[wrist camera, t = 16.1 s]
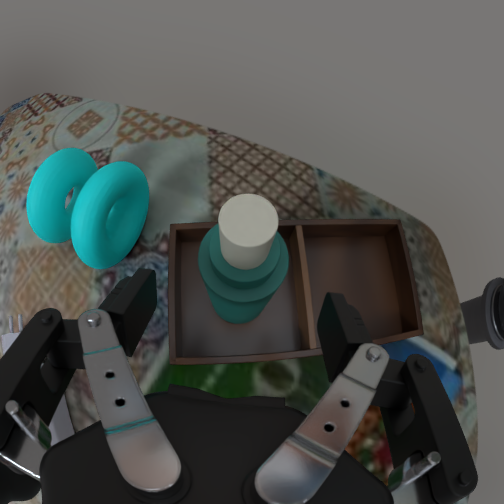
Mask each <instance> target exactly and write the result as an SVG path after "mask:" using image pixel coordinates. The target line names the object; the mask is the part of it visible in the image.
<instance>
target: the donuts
mask: <svg viewBox="0 0 504 504" xmlns="http://www.w3.org/2000/svg"><path fill="white" fill-rule="evenodd" d="M73 187H74V192H73V196H72V199H71V201H70V203H69V205H68V206H67V208H66V209H65V200H66V197H67V195H68V193H69V191H70V190H71V189H72V188H73ZM148 206H149V187H148V183H147V180H146V177H145V175H144V173H143V172H142V171H141V169H140V168H139V167H137V166H136V165H134V164H132V163H129V162H125V161H118V162H114V163H110V164H108V165H106V166H104V167H102V168H101V169H99V170H98V169H97V166H96V164H95V162H94V160H93V159H92V157H91V156H90V155H89V154H88V153H86V152H85V151H83V150H81V149H77V148H66V149H62V150H59V151H57V152H55V153H54V154H52V155H51V156H49V157H48V158H47V159H46V160H45V161H44V162H43V163H42V164H41V165H40V167H39V168H38V170H37V171H36V173H35V175H34V177H33V179H32V181H31V184H30V187H29V190H28V195H27V215H28V220H29V223H30V225H31V227H32V229H33V231H34V232H35V233H36V235H37V236H38V237H39V238H41V239H42V240H44V241H46V242H50V243H61V242H65V241H67V240H69V239H71V238H72V243H73V246H74V249H75V251H76V253H77V255H78V257H79V258H80V259H81V260H82V261H83V262H84V263H85V264H86V265H88V266H90V267H92V268H96V269H106V268H110V267H112V266H114V265H116V264H117V263H119V262H120V261H121V260H122V259H124V258H125V257H126V255H127V254H128V253H129V252H130V251H131V249H132V248H133V246H134V245H135V243H136V241H137V239H138V237H139V235H140V233H141V231H142V229H143V226H144V223H145V220H146V216H147V212H148Z"/></svg>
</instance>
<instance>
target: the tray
mask: <svg viewBox="0 0 504 504" xmlns="http://www.w3.org/2000/svg"><path fill="white" fill-rule="evenodd" d="M216 224H218V222H202V223H181V224H170V237H169V264H168V333H169V359H170V364H171V365H197V364H230V363H248V362H262V361H273V360H284V359H293V358H302V357H309V356H317V355H323V353H322V349H321V344H320V340H319V336H318V332H317V322H318V317H319V314H320V311H321V308H322V305H323V301H324V298H325V295H326V293H327V292H330V293H341V294H343V295H344V297H345V299H346V301H347V303H348V304H349V305H353V306H354V307H355V308H356V309H357V310H358V311H359V313H360V315H361V317H362V320H363V321H364V324H365V326H366V328H367V330H368V332H369V334H370V337H371V339H372V341H373V343H374V344H377V345H381V344H385V343H390V342H395V341H399V340H403V339H407V338H411V337H415V336H419V335H423V326H422V318H421V311H420V305H419V299H418V293H417V288H416V283H415V278H414V273H413V268H412V263H411V259H410V255H409V251H408V247H407V243H406V239H405V235H404V231H403V228H402V224H401V221H400V220H398V219H396V220H395V219H303V220H279V223H278V229H277V232H278V233H279V234H280V235H281V237H282V238H283V240H284V242H285V244H286V247H287V250H288V255H289V266H288V271H287V274H286V276H285V279H284V280H283V282H282V284H281V285H280V286H279V288H278V289H277V291H276V292H275V294H274V295H273V296H272V298H271V299H270V301H269V302H268V303H267V305H266V306H265V308H264V309H263V310H262V312H261V313H260V314H259V315H258V316H257V317H256V318H255V319H254V320H252V321H250V322H247V323H243V324H234V323H230V322H228V321H225V320H224V319H222V318H221V317H220V316H219V315H218V314H217V313H216V311H215V310H214V308H213V305H212V302H211V300H210V297H209V295H208V292H207V289H206V287H205V284H204V281H203V279H202V276H201V273H200V271H199V266H198V252H199V247H200V245H201V242H202V240H203V238H204V237H205V235H206V234H207V233H208V231H209V230H210V229H211V228H213V227H214V226H215V225H216Z"/></svg>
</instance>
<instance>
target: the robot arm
mask: <svg viewBox="0 0 504 504" xmlns="http://www.w3.org/2000/svg"><path fill="white" fill-rule="evenodd" d="M156 305H157V289H156V273H155V270H151V269H144V268H139V269H138V270H137V271H136V272H135V274H134V275H133V276H132V277H129V276H128V277H126V278H124V279H122V280H121V281H119V283H118V284H117V285H116V286H115V289H113V290H112V291H111V294H109V295H108V296H107V298H106V299H105V300H104V301H103V303H102V304H101V305H100V307H99V308H98V309H91V310H88V311H85V312H84V313H82V314H81V315H80V316H79V318H78V320H68V319H62V316H61V313H60V312H59V311H58V310H57V309H54V308H47V309H43V310H41V311H39V312H37V313H36V314H35V315H34V317H33V318H32V319H31V320H30V321H29V323H28V324H27V325H26V326H25V328H24V329H23V330H22V331H21V333H20V334H19V335H18V337H17V338H16V339H15V340H14V342H13V343H12V344H11V346H10V347H9V348H8V350H7V351H6V353H5V354H4V355H3V357H2V358H1V359H0V462H1V463H3V464H4V465H6V466H7V467H9V468H10V469H11V470H12V471H14V472H15V473H17V474H27V475H29V476H31V477H33V478H34V479H36V480H38V481H40V483H41V490H42V504H453V503H455V502H457V501H459V500H460V499H462V498H464V497H466V496H467V495H469V494H470V493H471V492H473V491H474V489H475V488H476V485H477V481H478V475H477V471H476V468H475V465H474V462H473V459H472V456H471V453H470V450H469V447H468V444H467V442H466V439H465V436H464V434H463V431H462V428H461V426H460V423H459V421H458V419H457V416H456V414H455V411H454V409H453V407H452V404H451V402H450V400H449V398H448V395H447V393H446V391H445V389H444V387H443V385H442V383H441V380H440V378H439V376H438V374H437V372H436V370H435V368H434V366H433V364H432V363H431V361H430V360H429V359H427V358H426V357H424V356H422V355H419V354H412V355H410V356H408V358H407V359H406V361H405V362H402V361H397V360H393V359H390V358H389V355H388V353H387V351H386V350H385V349H384V348H382V347H381V346H379V345H377V344H374V343H373V341H372V339H371V337H370V334H369V332H368V330H367V328H366V326H365V324H364V321H363V320H362V317H361V315H360V313H359V311H358V310H357V309H356V308H355V307H354V306H353V305H349V304H348V303H347V301H346V299H345V297H344V295H343V294H341V293H330V292H327V293H326V295H325V298H324V301H323V305H322V308H321V311H320V314H319V317H318V322H317V332H318V336H319V340H320V344H321V349H322V353H323V357H324V361H325V365H326V370H327V374H328V378H329V382H333V383H332V385H331V386H330V387H329V389H328V390H327V391H326V393H325V394H324V395H323V397H322V398H321V399H320V401H319V402H318V403H317V404H316V406H315V407H314V408H313V410H312V411H311V412H310V413H309V415H308V416H307V415H305V414H304V413H302V412H300V411H298V410H296V409H294V408H291V407H288V406H285V398H280V397H264V396H251V397H242V398H231V399H226V398H222V397H219V396H216V395H213V394H211V393H208V392H205V391H202V390H200V389H197V388H191V387H185V386H179V385H174V384H170V385H169V388H168V391H163V392H155V393H151V394H147V395H144V396H143V393H142V391H141V389H140V387H139V385H138V383H137V380H136V378H135V376H134V374H133V371H132V369H131V367H130V364H129V362H128V359H127V357H126V356H128V357H132V355H133V353H134V351H135V349H136V347H137V345H138V343H139V341H140V339H141V337H142V335H143V333H144V331H145V329H146V327H147V325H148V323H149V321H150V319H151V317H152V315H153V313H154V311H155V309H156ZM490 315H491V322H492V326H493V329H494V332H495V334H496V335H497V337H498V338H499V339H500V340H502V341H504V283H503V284H500V285H498V286H497V287H496V288H495V289H494V291H493V293H492V297H491V303H490ZM46 356H47V357H48V358H47V359H46V361H45V362H44V364H43V366H42V367H41V364H42V362H43V360H44V359H45V357H46ZM76 369H86V372H87V376H88V380H89V384H90V387H91V391H92V394H93V398H94V401H95V404H96V407H97V410H98V414H99V417H100V419H101V420H99V421H98V422H96V423H94V424H92V425H90V426H89V427H87V428H85V429H83V430H81V431H79V432H77V433H75V434H73V435H72V436H70V437H68V438H66V439H64V440H62V441H60V442H58V443H56V444H54V445H53V446H51V441H52V434H51V431H50V429H49V425H50V423H51V420H52V418H53V416H54V414H55V411H56V409H57V407H58V405H59V403H60V401H61V399H62V397H63V394H64V392H65V390H66V388H67V386H68V384H69V382H70V380H71V378H72V376H73V374H74V373H75V371H76ZM411 403H413V406H414V409H415V415H414V412H413V409H412V406H411ZM370 404H371V405H375V406H379V407H380V411H381V414H382V418H383V422H384V426H385V431H386V435H387V439H388V443H389V448H390V452H391V457H392V462H393V467H394V470H392V472H391V473H390V475H389V477H388V485H387V486H386V485H385V484H384V483H383V482H382V481H380V480H379V479H378V478H377V477H375V476H374V475H373V474H372V473H371V472H369V471H368V470H367V469H366V468H365V467H364V466H362V465H361V464H360V463H359V462H358V461H357V460H356V459H354V458H353V457H352V456H351V455H350V454H349V453H348V452H347V451H345V450H344V449H345V447H346V446H347V444H348V443H349V441H350V439H351V438H352V436H353V434H354V432H355V431H356V429H357V427H358V426H359V424H360V422H361V420H362V418H363V417H364V415H365V413H366V411H367V409H368V407H369V405H370Z"/></svg>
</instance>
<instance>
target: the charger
mask: <svg viewBox="0 0 504 504" xmlns="http://www.w3.org/2000/svg"><path fill="white" fill-rule="evenodd" d="M18 319H19V333H13V317H12V316H9V326H10V334H4V335H2V346H3V355H4V354H5V353H6V351H7V350H8V348H9V347H10V346H11V344H12V343H13V342H14V340H15V339H16V338H17V337H18V335H19V334H20V333H21V331H22V330H23V324H22V315H21V314H19V315H18ZM43 364H44V363H42V364H41V367H42V366H43ZM49 429H50V431H51V434H52V441H51V446H53V445H54V444H56V443H58V442H60V441H62V440H64V439H66V438H68V437H70V436H72V435H73V434H75V433H74V430H73V426H72V423H71V419H70V416H69V412H68V408H67V404H66V400H65V395H64V394H63V397H62V399H61V401H60V403H59V405H58V407H57V409H56V411H55V414H54V416H53V418H52V420H51V423H50V425H49Z"/></svg>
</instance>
